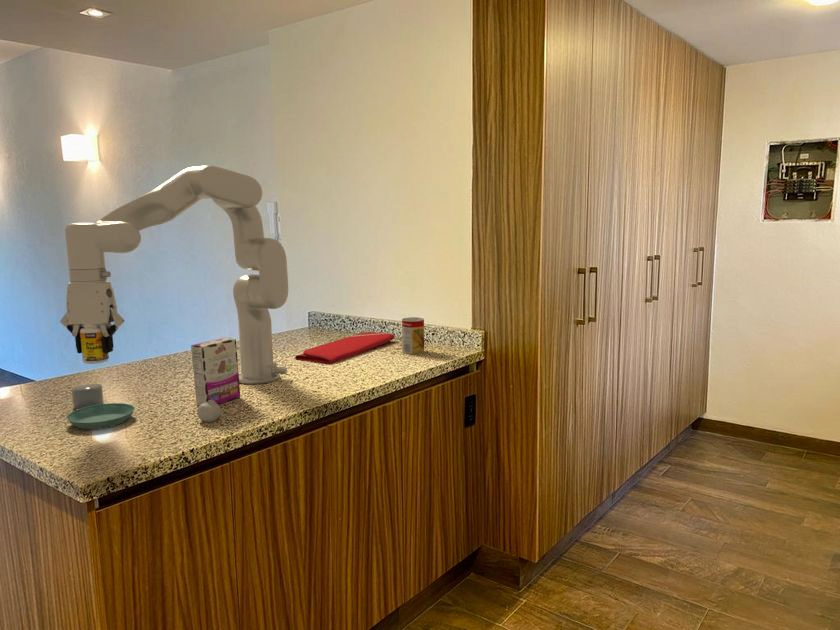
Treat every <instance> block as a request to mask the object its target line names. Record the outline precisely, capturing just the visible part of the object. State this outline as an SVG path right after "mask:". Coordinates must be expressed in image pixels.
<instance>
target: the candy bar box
mask: <svg viewBox="0 0 840 630" xmlns="http://www.w3.org/2000/svg"><path fill="white" fill-rule="evenodd" d="M190 348H191V359H192V360H191V361H192V369H193V381H194V391H195V392H194V393H195V403H196V406H197V407H199V406H200V405H201V404H203V403H206V402H208V401H209V400H213V401H215V403H217V404H218V405H219V406H220V405H221V404H224V402H225V403H227V402H230V401H233V400H236V399H238V398H240V397H241V388H240V382H239V374H240V373H239V363H238V362H239V361H238V350H237V349H238V348H237V339H236V338H231V337H221V338H217V339H211V340H208V341H205V342H200V343H196V344H191V345H190Z"/></svg>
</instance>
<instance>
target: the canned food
mask: <svg viewBox="0 0 840 630" xmlns="http://www.w3.org/2000/svg"><path fill="white" fill-rule="evenodd" d="M401 338H402V339H401V341H402V342H401V345H402V346H401V347H402V349H401V350H402V354H405V355H409V356H410V355H421V354H424V353H425V319H424V318H423V317H418V316H417V317H415V316H414V317H413V316H411V317H404V318H402V319H401Z"/></svg>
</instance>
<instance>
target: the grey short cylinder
mask: <svg viewBox="0 0 840 630" xmlns="http://www.w3.org/2000/svg"><path fill="white" fill-rule="evenodd" d="M103 392H104V391H103V385H101V384H99V383H89V384H82V385H77V386H75V387H73V388H71V395H72V396H71V397H72V407H74V408H75V409H74V408H73V409H74V410H76V409H81V408H84V407H88V406H93V405H99V404H105V403H104V395H103V394H104V393H103Z"/></svg>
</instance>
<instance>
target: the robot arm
mask: <svg viewBox="0 0 840 630" xmlns="http://www.w3.org/2000/svg"><path fill="white" fill-rule="evenodd" d="M262 197H263V189H262V186H261V184H260V183H259V181H258V180H256V179H255V178H254V177H252V176H249V175H247V174H243V173H240V172H236V171H233V170H230V169H226V168H222V167H220V166H215V165H197V166H190V167H187V168H185V169H184V168H183V170H180V171H179V172H178V173H176V174H175V175H173V176H172V177H171V178H168V180H166V181H164V182H162V183H161V184H160V185H158V186H157V187H155V188H154V189H152V190H151V191H149V192H147V193H145V194H143V195H141V196H138V197H137V198H135V199H133V200H131V201H130V202H127V203H125V204H122V205H120V206H119V207H118V208H116V209H113V210H112V211H111V212H109V213H107V214H106V215H104V216H103V217H100V219H98V220H96V222H74V223H73V222H72V223H69V224H67V225H66V226H65V228H64V234H65V235H64V236H65V243H66V244H65V245H66V253H67V254H66V255H67V264H68V275H69V282H68V283H67V286H66V304H65V305H66V306H65V307H66V313H65V314H64V315H63V317H62V318H61V319H60V324H62V325H63V326H64V327H65V328H66V329H67V330H68V331H69V332H70V333H71V335H72V337H74V341H75V349H76V352H77V354H82V347H81V337H80V330H81V329H82V328H84V327H83V325H84V324H92V325H99V326H100V328H101V331H102V333H103V335H104V337H102V338H101V340H102V350H103V353H104V354H106V353H108V354H109V353H112V352H114V338H113V336H114V335H115V333H116V332H117V330H118V329H120V327H121V326H122V325H123V324H124V323H125V319H124V318H123V316H121V315H120V314H119V313H118V309H117V308H118V306H117V301H116V297H115V293H114V288H113V286H112V283H111V281H107V279H108V278H110V277H111V271H107V268H106V262H105V261H106V260H105V253H114V254H126V253H131V252H133V251H134V250H136V249H137V248H138V247H139V245H140V244H141V240H142V237H141V236H142V235H141V233H140V231H142V230H144V229H148V228H151V227H155V226H160V225H163V224H166V223H169V222H170V221H173V220H175V219H176V218H177V217H178V216H180V215H181V214H183V213H184V212H186V211H187V210H188V209H189V208H191V207H192V206H193V205H195V204H197V203H198V202H199V201H202V200H204V199H205V200H206V199H211V200H212V201H213V202H214V203H215V205H217V206H218V207H219V208H221V209H222V210H223V211H224V212H225V213H226V214H227V216H228V217H229V219H230V221H231V226H232V232H233V244H234V245H233V246H234V255H235V256H234V257H235V262H236V264H237V266H238V267H240V268H241V269H243V270H248V271H256V272H258V273H259V274H254V273H253V274H245V275H242V276H240V277H238V278H237V280H236V281H235V283H234V284H233V288H232V292H233V293H232V294H233V299H234V304H235V307H236V313H237V318H238V319H237V321H238V338H239V353H240V355H239V356H240V372H241V373H239V384H249V385H250V384H251V385H253V384H254V385H257V384H265V383H271V382H273V381H276V380H278V379H279V378H280V374H281V375H287V373H288V368H287V367H286V366H278V365H277V362H276V361H274V354H273V353H274V352H273V349H274V348H273V330H272V317H271V313H270V311H269V310H276V309H280V308H281V307H283V306H284V305H285V304H286V302H287V300H288V295H289V278H288V277H289V276H288V275H289V274H288V263H287V255H286V254H287V253H286V251H285V248H284V246H283V245H282V243H281V242H279V240H276V239H275V238H271V237H265V231H264V226H263V220H262V216H261V213H260V211H259V209H258V208H257V205H259V204H260V202H261V200H262ZM112 323H113V324H112Z"/></svg>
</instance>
